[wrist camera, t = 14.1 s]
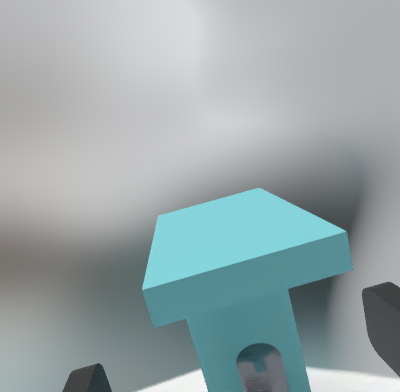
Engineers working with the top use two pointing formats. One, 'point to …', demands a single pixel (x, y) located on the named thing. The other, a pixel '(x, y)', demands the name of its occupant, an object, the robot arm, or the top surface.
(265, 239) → the teal angle bracket
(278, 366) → the peg
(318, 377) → the top surface
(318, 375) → the top surface
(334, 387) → the top surface
